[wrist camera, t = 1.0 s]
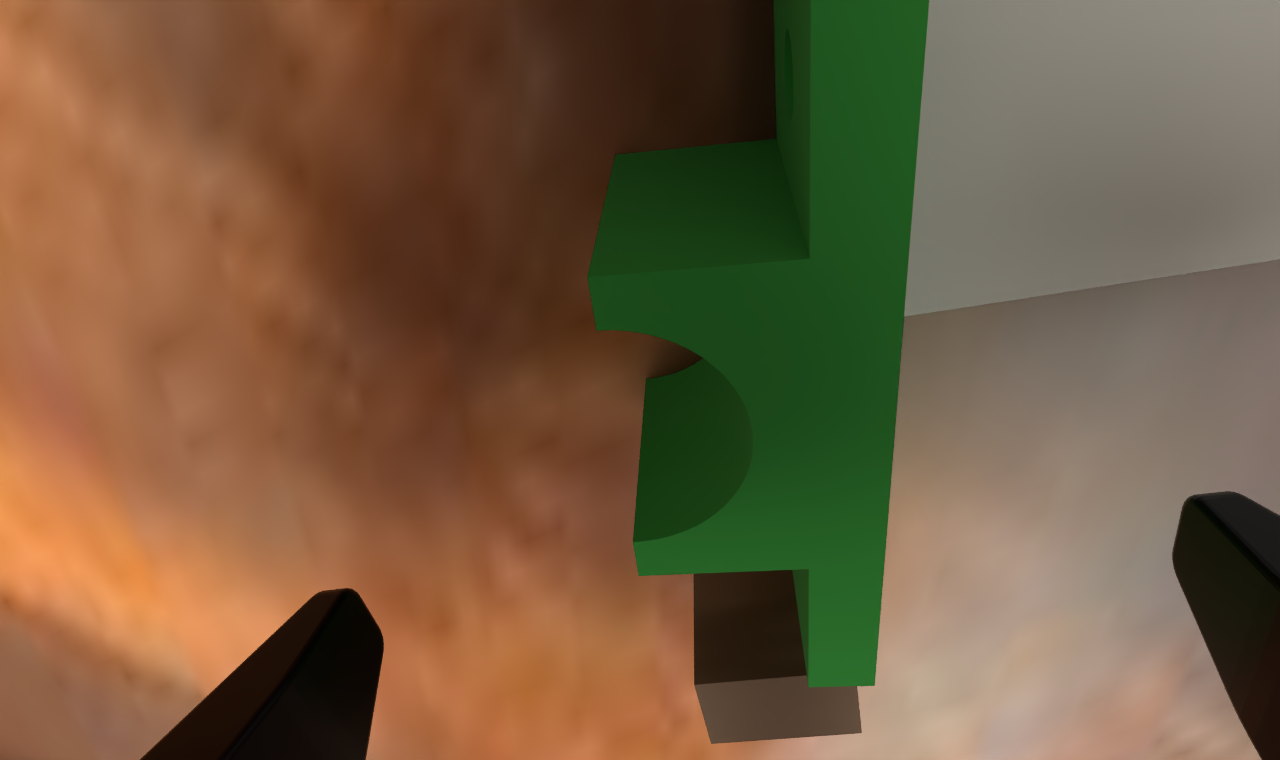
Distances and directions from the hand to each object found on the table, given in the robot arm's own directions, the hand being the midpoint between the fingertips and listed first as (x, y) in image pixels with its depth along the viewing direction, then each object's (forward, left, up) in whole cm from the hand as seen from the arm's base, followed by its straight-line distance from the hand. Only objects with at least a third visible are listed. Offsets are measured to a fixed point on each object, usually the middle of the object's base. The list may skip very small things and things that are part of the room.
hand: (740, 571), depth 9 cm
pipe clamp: (0, 0, -7) cm, 7 cm away
